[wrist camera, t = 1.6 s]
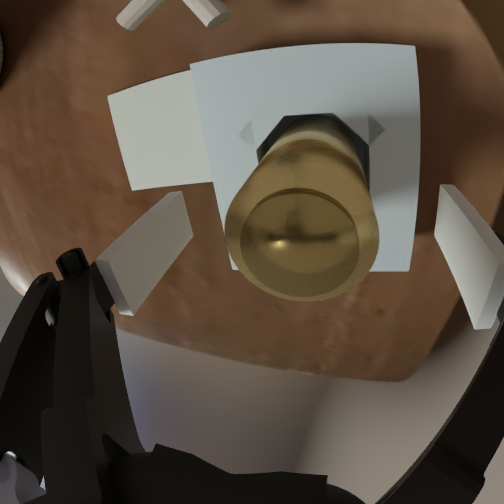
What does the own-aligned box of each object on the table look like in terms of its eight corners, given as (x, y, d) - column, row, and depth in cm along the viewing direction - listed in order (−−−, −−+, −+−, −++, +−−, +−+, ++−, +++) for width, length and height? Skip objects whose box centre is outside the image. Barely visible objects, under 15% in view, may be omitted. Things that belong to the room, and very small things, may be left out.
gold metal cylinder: (272, 117, 21) (204, 177, 10) (353, 113, 20) (384, 169, 9) (282, 190, 24) (235, 308, 13) (356, 189, 23) (374, 312, 12)
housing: (216, 64, 20) (189, 64, 16) (397, 50, 17) (414, 45, 13) (247, 238, 29) (232, 269, 25) (398, 237, 25) (408, 271, 21)
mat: (109, 95, 24) (107, 96, 23) (204, 66, 21) (202, 66, 20) (134, 189, 29) (132, 190, 28) (225, 178, 26) (224, 180, 26)
